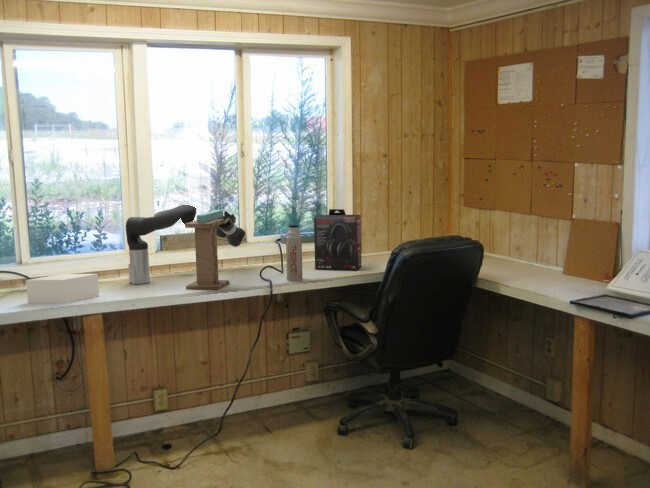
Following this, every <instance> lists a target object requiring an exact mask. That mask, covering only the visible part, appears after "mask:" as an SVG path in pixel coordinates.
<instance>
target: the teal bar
mask: <svg viewBox="0 0 650 488" xmlns="http://www.w3.org/2000/svg"><path fill="white" fill-rule="evenodd" d="M210 211H211V210H210ZM223 216H224V210H223V209H215V210H212V211H211V212H209V211H207V212H204V213H200V214H196V220H197V223H205V222H208V221H211V220H214V219H218V218H221V217H223Z"/></svg>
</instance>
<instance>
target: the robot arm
mask: <svg viewBox="0 0 650 488" xmlns="http://www.w3.org/2000/svg"><path fill="white" fill-rule="evenodd" d="M195 207H196V206H195ZM195 207H193V206H190V205H183V204H181V206H180V205H178V206H176V207H174V208H170V209H165V210H161V211H158V212H156V213H155V214H154V215H153V216H149V217H147V216H146V217H145V216H130V217H128V218H127V220H126V223H125V234H126V243H127V246H128V252H129V256H128V257H129V263H128V265H127V266H128V280H129V283H130V284H133V285H143V284H149V283H150V282H151V281H150V280H151V278H150V276H151V275H150V263H149V262H150V261H149V259H150V257H149V244H148V242H147V241H145V240H143V239H142V238H141V236H146V235H147V236H148V234H151V233H153V232H155V231H160V230H164V229H168V228H170V227H171V228H172V227H173V226H174V225H175V224H176V223H177V222H178V220H179V219H180V218H181V220H182V222H183V223H184V224H185V223H189V222H192V221H193V220H194V221H195V219H194V218H196V216H197V211H196V210H197V207H196V208H195ZM208 212H211V210H208ZM218 219H224V222H225V223H223V224H220V225H217V226H216V228H217V237H219V238H223V239H225V238H226V239H227V242H228V244H230V245H231V246H232V247H239V246H240V245H241V244H242V242H243V239H244V237H245V235H246V231H245V230H244V229H243V228H242V227H237V224H236V221H237V217H236V215H235V214H234V213H232V214H231V213H230V212H228V211H227V210H224V211H223V217H221V218H218Z"/></svg>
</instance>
